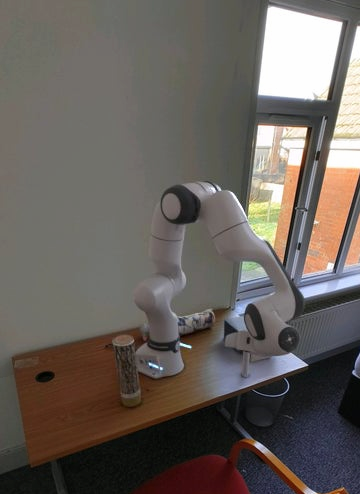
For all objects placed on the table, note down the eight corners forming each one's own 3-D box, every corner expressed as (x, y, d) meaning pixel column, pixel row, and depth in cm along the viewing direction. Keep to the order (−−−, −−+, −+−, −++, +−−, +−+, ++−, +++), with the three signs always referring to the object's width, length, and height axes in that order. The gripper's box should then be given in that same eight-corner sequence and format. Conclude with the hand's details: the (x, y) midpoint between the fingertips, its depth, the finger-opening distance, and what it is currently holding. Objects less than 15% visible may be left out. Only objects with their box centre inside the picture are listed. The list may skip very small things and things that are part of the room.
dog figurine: (168, 339, 165) (167, 318, 160) (140, 341, 165) (138, 320, 160) (168, 334, 170) (166, 313, 164) (141, 335, 170) (139, 315, 164)
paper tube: (143, 396, 129) (135, 334, 116) (139, 408, 123) (131, 345, 110) (124, 395, 129) (115, 334, 117) (120, 407, 123) (109, 344, 111)
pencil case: (176, 340, 164) (175, 321, 159) (168, 333, 171) (167, 314, 166) (216, 329, 172) (217, 310, 167) (207, 322, 179) (207, 304, 174)
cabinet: (265, 347, 155) (267, 327, 150) (239, 353, 151) (240, 333, 146) (248, 333, 167) (249, 314, 162) (223, 338, 163) (224, 319, 158)
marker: (240, 376, 137) (242, 345, 130) (242, 373, 139) (244, 342, 132) (247, 378, 136) (249, 347, 129) (249, 374, 138) (251, 344, 131)
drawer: (283, 361, 143) (285, 344, 139) (258, 368, 140) (260, 350, 136) (258, 341, 158) (260, 325, 154) (235, 346, 155) (236, 330, 151)
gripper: (294, 338, 116) (273, 341, 129) (235, 328, 112) (220, 333, 125) (292, 357, 116) (271, 359, 129) (233, 348, 111) (218, 351, 125)
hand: (246, 346), depth 127 cm, fingers closed
